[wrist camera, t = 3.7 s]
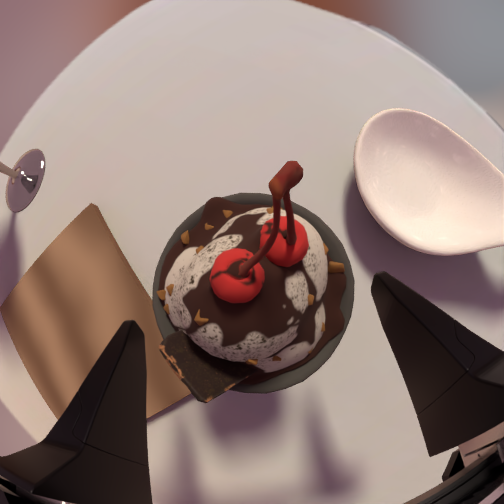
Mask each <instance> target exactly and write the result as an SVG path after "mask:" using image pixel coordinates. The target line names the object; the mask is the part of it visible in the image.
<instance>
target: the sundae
mask: <svg viewBox="0 0 504 504" xmlns="http://www.w3.org/2000/svg"><path fill="white" fill-rule="evenodd" d="M302 177H303V168H302V167H301V166H300V165H299V164H298V162H297V161H288V162H287V163H286V164H285V165H284V166H283V167H282V168H281V170H280V171H279V172H278V173H277V174H276V175H275V176H274V177H273V179H272V180H271V181H270V182H269V189H270V191H271V194H272V195H268V194H262V193H238V194H234V195H230V196H226V197H222V198H221V197H214V198H211V199H210V200H208V201H207V202H206V204H205V205H203V206H202V207H200V208H199V209H198V210H196V211H195V212H194V213H193V214H191V215H190V216H189V217H188V218H187V219H186V220H185V221H184V222H183V223H182V224H181V225H180V226H179V227H178V228H177V229H176V230H175V232H174V233H173V235H172V236H171V238H170V240H169V241H168V243H167V245H166V247H165V249H164V251H163V253H162V255H161V257H160V260H159V262H158V265H157V268H156V271H155V277H154V283H153V303H152V306H153V310H154V314H155V318H156V322H157V326H158V328H159V330H160V333H161V335H162V338H163V341H162V342H161V344H160V345H159V350H160V352H161V354H162V355H163V357H164V358H165V360H166V362H167V363H168V365H169V366H170V368H171V369H172V370H173V372H174V373H175V374H176V375H177V377H178V378H179V379H180V380H181V381H182V382H183V383H184V384H185V385H186V386H187V387H188V389H189V390H190V392H191V393H192V394H193V396H194V397H195V398H196V399H197V400H198V401H200V402H204V403H207V402H209V401H211V400H212V399H214V398H216V397H218V396H219V395H221V394H223V393H224V392H226V391H227V390H233V391H238V392H244V393H270V392H274V391H278V390H283V389H286V388H288V387H291V386H293V385H296V384H298V383H300V382H303V381H304V380H305V379H307V378H308V377H309V376H311V375H312V374H313V373H314V372H316V371H317V370H318V369H319V368H320V367H321V366H322V365H323V364H324V363H325V362H326V361H327V360H328V359H329V358H330V357H331V355H332V354H333V352H334V351H335V349H336V348H337V346H338V344H339V343H340V341H341V339H342V337H343V335H344V333H345V331H346V328H347V326H348V323H349V320H350V318H351V314H352V308H353V302H354V277H353V273H352V269H351V265H350V261H349V259H348V256H347V254H346V252H345V249H344V247H343V245H342V243H341V242H340V240H339V239H338V238H337V236H336V235H335V234H334V233H333V231H332V230H331V229H330V228H329V227H328V226H327V225H326V224H325V223H324V222H323V221H322V220H321V219H320V218H319V217H318V216H316V215H315V214H313V213H312V212H310V211H309V210H307V209H306V208H304V207H302V206H300V205H298V204H296V203H294V202H292V201H291V200H290V194H289V192H290V189H291V188H293V187H294V186H295V185H297V184H298V183H299V182H300V180H301V179H302Z"/></svg>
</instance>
